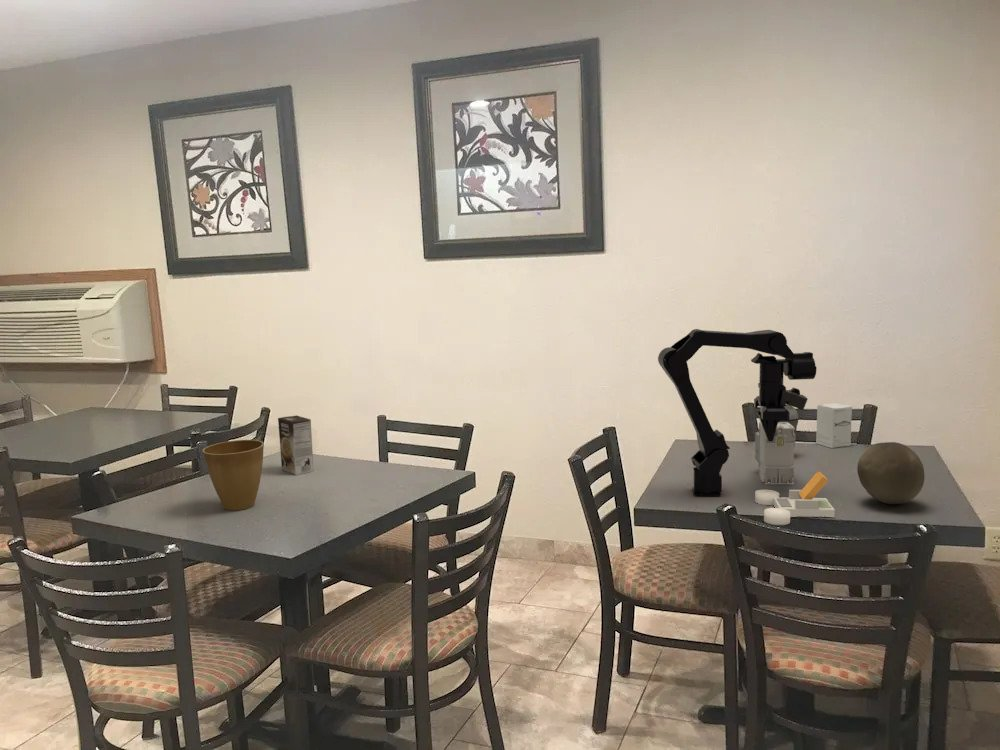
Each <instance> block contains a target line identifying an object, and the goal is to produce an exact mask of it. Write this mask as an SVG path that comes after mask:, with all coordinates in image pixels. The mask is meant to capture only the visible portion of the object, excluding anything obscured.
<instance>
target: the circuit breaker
mask: <svg viewBox="0 0 1000 750" xmlns="http://www.w3.org/2000/svg"><path fill="white" fill-rule="evenodd" d="M794 430H795V428H794V427H793V426H792V425H791V424H790V423H788V422H778V425H777V428H776V432H775V435H774V439H773V441H768V439H767V437H766V434H765V432H764V429H763V427H762V424H761V421H759V422H758V432H755V434H754V436H755V437H754V438H755V439H754V441H755V442H754V459H755V460H756V462H757V463H758V466H757V467H758V468H757V469H758V470H757V471H758V473H757V475H758V476H757V477H758V478H759V477H760V478H759V479H760V480H761V481H762V483H763V482H765V483H764V485H795V482H794V479H795V472H796V471H795V470H796V469H795V464H794V463H795V447H794V444H795V445H796V438H795V433H794ZM768 482H770V483H768ZM788 482H790V483H788Z"/></svg>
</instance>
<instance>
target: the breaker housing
mask: <svg viewBox="0 0 1000 750" xmlns="http://www.w3.org/2000/svg"><path fill="white" fill-rule="evenodd" d="M801 490H802V489H788V497H780V496H779V497H773V505H774V506H773V505H772V506H773V508H774V507H775V508H782V509H786V510H788V511H790V518H791V517H796V516H822V517H824V516H826V517H835V514H836V510H835V508H834V507H833V506H832V504H831V503H830V502H829V500H828V499H827V498H826V497H814V498H813V499H812V500H810V499H800V497H799V493H800V491H801ZM835 518H836V517H835Z"/></svg>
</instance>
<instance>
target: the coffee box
mask: <svg viewBox="0 0 1000 750" xmlns="http://www.w3.org/2000/svg"><path fill="white" fill-rule="evenodd" d="M277 420H278V421H277V422H278V435H279V447H280V462H281V470H282V471H284V472H286V473H289V474H291V475H293V476H298V475H303V474H308V473H313V472H314V471H315V470H314V469H315V468H314V456H313V455H314V454H313V437H312V420H311V419H310V418H307V417H303V416H300V415H296V414H295V415H289V416H283V417H282V416H281V417H278V418H277Z"/></svg>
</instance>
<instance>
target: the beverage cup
mask: <svg viewBox="0 0 1000 750" xmlns="http://www.w3.org/2000/svg"><path fill="white" fill-rule="evenodd" d="M788 390H789V391H790V390H791V389H788ZM785 408H786V409H787V410H788V411H789V420H781V421H779V422H788V423H790V424H791V425H792V426H793V427H794V428H795V430H794V433H795V439H796V436H797V428H798V423H799V413H798V411H797V410H796V409H797V408H796V407H793V406H790V405H787V404H786V407H785ZM795 445H796V443H795V444H794V448H795Z"/></svg>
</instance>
